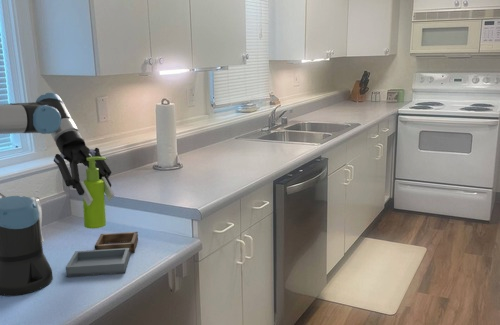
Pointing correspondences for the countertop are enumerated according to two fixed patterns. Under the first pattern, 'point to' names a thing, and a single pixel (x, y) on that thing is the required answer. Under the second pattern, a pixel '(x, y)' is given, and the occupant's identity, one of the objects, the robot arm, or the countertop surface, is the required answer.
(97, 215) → the soap dispenser
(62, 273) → the countertop surface
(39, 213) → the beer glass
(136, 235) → the holder collar
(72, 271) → the tray
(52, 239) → the countertop surface
